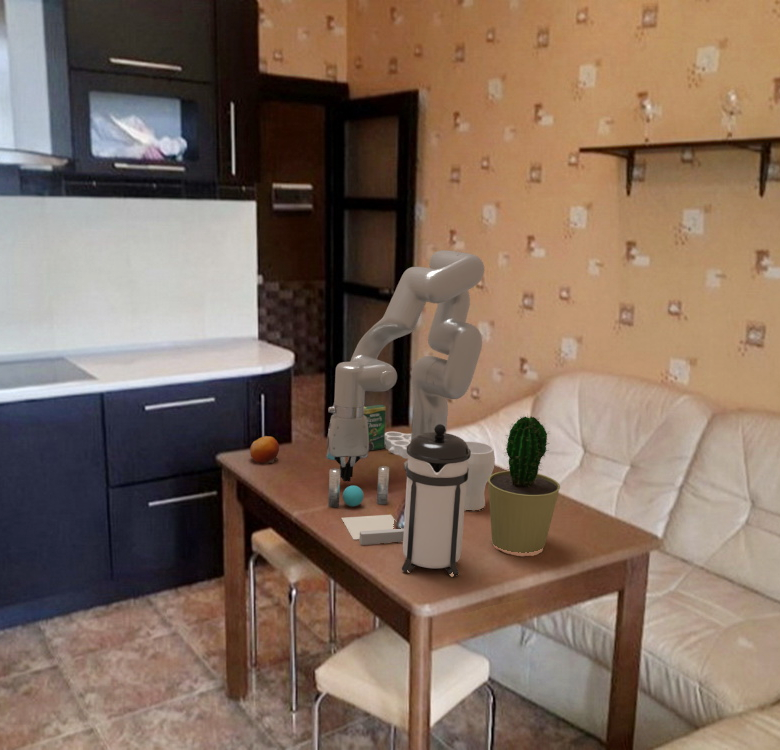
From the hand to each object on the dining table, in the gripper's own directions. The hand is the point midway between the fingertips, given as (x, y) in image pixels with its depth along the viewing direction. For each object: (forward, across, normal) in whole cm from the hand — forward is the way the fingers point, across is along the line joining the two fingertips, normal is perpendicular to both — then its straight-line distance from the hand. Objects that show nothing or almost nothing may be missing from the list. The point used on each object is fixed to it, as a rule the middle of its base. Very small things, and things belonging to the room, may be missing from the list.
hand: (346, 479), depth 210 cm
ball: (-1, -2, -14) cm, 14 cm away
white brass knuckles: (+2, +25, +27) cm, 37 cm away
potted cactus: (+2, +29, -42) cm, 51 cm away
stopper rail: (+2, +1, -35) cm, 35 cm away
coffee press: (+2, +7, -46) cm, 46 cm away
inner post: (+2, +6, -13) cm, 14 cm away
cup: (+2, +27, -18) cm, 32 cm away
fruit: (+2, -18, +22) cm, 28 cm away
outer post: (+2, -6, -13) cm, 14 cm away
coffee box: (+2, +14, +28) cm, 31 cm away
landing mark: (+2, 0, -27) cm, 27 cm away
